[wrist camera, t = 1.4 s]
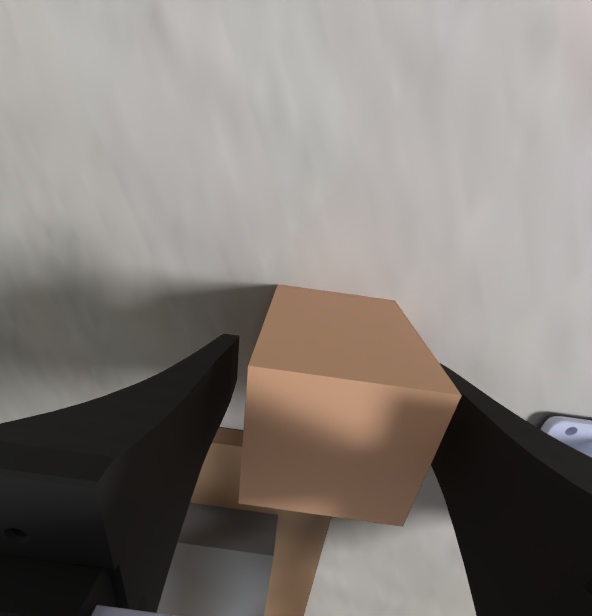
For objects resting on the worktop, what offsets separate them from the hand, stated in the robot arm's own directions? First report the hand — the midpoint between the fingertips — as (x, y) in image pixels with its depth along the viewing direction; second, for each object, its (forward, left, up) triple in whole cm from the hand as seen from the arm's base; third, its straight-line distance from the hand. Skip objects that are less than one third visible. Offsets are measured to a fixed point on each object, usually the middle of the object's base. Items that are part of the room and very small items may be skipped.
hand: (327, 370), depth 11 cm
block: (0, 0, -2) cm, 2 cm away
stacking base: (+5, +15, -2) cm, 16 cm away
